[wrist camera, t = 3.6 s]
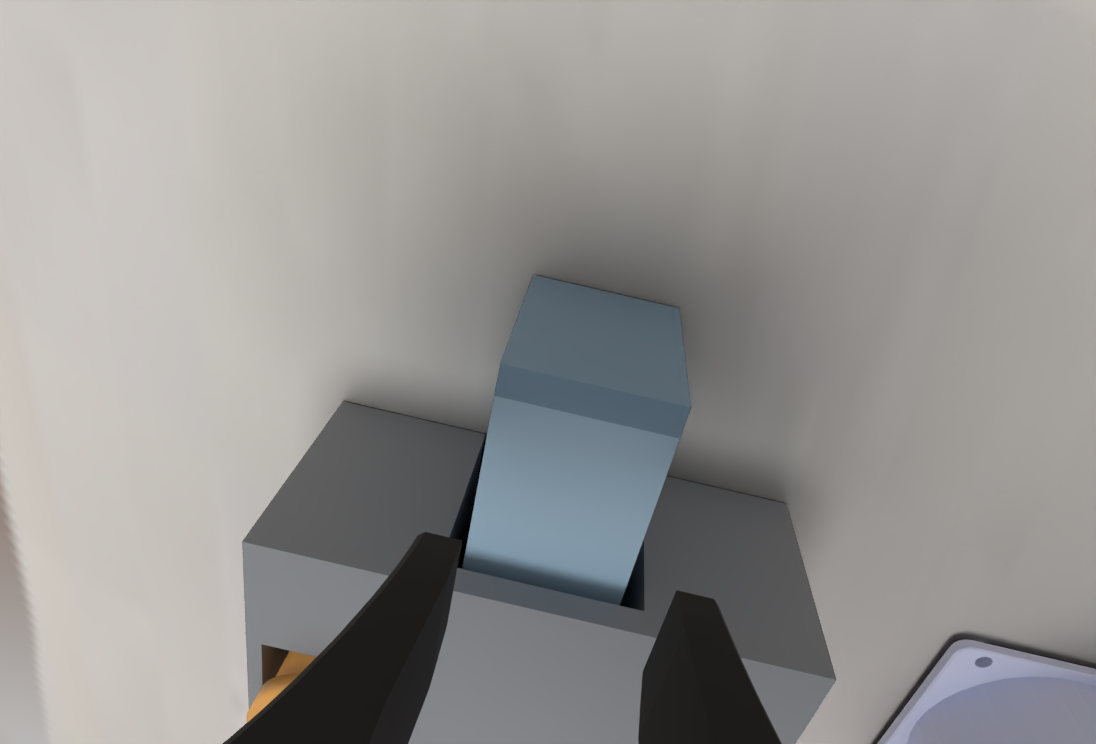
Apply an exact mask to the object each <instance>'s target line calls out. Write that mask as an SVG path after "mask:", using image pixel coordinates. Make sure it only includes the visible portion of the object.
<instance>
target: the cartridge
mask: <svg viewBox="0 0 1096 744" xmlns="http://www.w3.org/2000/svg"><path fill="white" fill-rule="evenodd" d="M690 409H691V402H690V393H689V385H688V377H687V368H686V360H685V352H684V343H683V335H682V327H681V318H680V310H679V308H676V307H671V306H667V305H663V304H658V303H654V302H650V301H645V300H641V299H637V298H632V297H628V296H624V295H619V294H615V293H611V292H606V291H602V290H597V289H593V288H589V287H584V286H580V285H576V284H571V283H567V282H563V281H558V280H554V279H550V278H545V277H541V276H537V275H533V277H532V280H531V282H530V285H529V288H528V290H527V293H526V296H525V299H524V301H523V304H522V307H521V309H520V312H519V315H518V317H517V320H516V323H515V325H514V328H513V331H512V333H511V336H510V339H509V341H508V344H507V347H506V349H505V352H504V355H503V357H502V360H501V363H500V368H499V373H498V378H497V384H496V389H495V395H494V400H493V405H492V411H491V416H490V422H489V427H488V432H487V438H486V443H485V449H484V454H483V460H482V465H481V470H480V476H479V481H478V487H477V492H476V497H475V503H474V508H473V514H472V519H471V524H470V530H469V535H468V541H467V546H466V551H465V557H464V562H463V568H462V569H465V570H469V571H473V572H477V573H482V574H486V575H490V576H495V577H499V578H503V579H508V580H512V581H516V582H520V583H525V584H529V585H533V586H538V587H542V588H546V589H551V590H555V591H559V592H563V593H568V594H572V595H576V596H581V597H585V598H589V599H594V600H598V601H602V602H606V603H611V604H615V605H619V606H620V603H621V601H622V598H623V595H624V592H625V589H626V587H627V584H628V581H629V578H630V576H631V573H632V570H633V567H634V564H635V562H636V559H637V556H638V553H639V551H640V548H641V545H642V542H643V540H644V537H645V534H646V531H647V528H648V526H649V523H650V520H651V517H652V515H653V512H654V509H655V506H656V504H657V501H658V498H659V495H660V492H661V490H662V487H663V484H664V481H665V479H666V476H667V473H668V470H669V467H670V465H671V462H672V459H673V456H674V454H675V451H676V448H677V445H678V443H679V440H680V437H681V434H682V431H683V429H684V426H685V423H686V420H687V418H688V415H689V412H690Z"/></svg>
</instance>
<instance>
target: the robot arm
mask: <svg viewBox="0 0 1096 744" xmlns="http://www.w3.org/2000/svg"><path fill="white" fill-rule="evenodd" d="M461 545H462V540H458V539H454V538H450V537H446V536H441V535H437V534H433V533H428V532H424V533H422V534H419V535H417V537H416V539H415V540H414V542H413V543H412V545H411V546H410V548H409V549H408V551H407V552H406V554H405V555H404V556H403V558H402V559H401V561H400V562H399V563H398V565H397V566H396V567H395V569H394V570H393V571H392V573H391V574H390V575H389V576H388V578H387V579H386V580H385V581H384V583H383V584H382V585H381V586H380V588H379V589H378V590H377V591H376V592H375V594H374V595H373V596H372V597H371V598H370V600H369V601H368V602H367V603H366V604H365V605H364V606H363V607H362V609H361V610H360V611H359V612H358V613H357V614H356V615H355V617H354V618H353V619H352V620H351V621H350V622H349V623H348V624H347V626H346V627H345V628H344V629H343V630H342V631H341V632H340V633H339V634H338V636H337V637H336V638H335V639H334V640H333V641H332V642H331V643H330V644H329V645H328V646H327V647H326V648H325V649H324V650H323V651H322V652H321V653H320V654H319V655H318V656H317V657H316V658H315V659H314V660H313V661H312V662H311V663H310V664H309V665H308V666H307V667H306V668H305V669H304V670H303V671H302V672H301V673H300V674H299V675H298V676H297V677H296V678H295V679H294V680H293V681H292V682H291V683H290V684H289V685H288V686H287V687H286V688H285V689H284V690H283V691H282V692H281V693H280V694H278V695H277V696H276V697H275V698H274V699H273V700H272V701H271V702H270V703H269V704H268V705H267V706H265V707H264V708H263V709H262V710H261V711H260V712H259V713H258V714H257V715H255V716H254V717H253V718H252V719H251V720H250V721H249V722H247V723H246V724H245V725H244V726H243V727H242V728H241V729H240V730H238V731H237V732H236V733H235V734H234V735H233V736H231V737H230V738H229V739H228V740H227V741H225V742H224V743H223V744H408V743H409V740H410V738H411V735H412V732H413V730H414V727H415V725H416V722H417V719H418V717H419V714H420V712H421V709H422V706H423V704H424V701H425V699H426V696H427V693H428V691H429V688H430V684H431V681H432V677H433V674H434V670H435V667H436V663H437V660H438V656H439V653H440V649H441V645H442V642H443V638H444V635H445V631H446V627H447V623H448V617H449V612H450V606H451V600H452V595H453V589H454V584H455V578H456V573H457V567H458V561H459V556H460V550H461ZM638 742H639V744H782V743H781V741H780V739H779V737H778V735H777V733H776V731H775V729H774V727H773V725H772V723H771V721H770V719H769V717H768V715H767V713H766V711H765V709H764V707H763V705H762V703H761V701H760V699H759V697H758V695H757V692H756V690H755V688H754V686H753V684H752V682H751V680H750V677H749V675H748V673H747V671H746V669H745V666H744V664H743V662H742V660H741V657H740V655H739V653H738V651H737V648H736V646H735V644H734V642H733V639H732V637H731V635H730V632H729V630H728V627H727V625H726V623H725V620H724V618H723V616H722V613H721V611H720V608H719V606H718V604H717V603H716V601H715V600H714V599H712V598H708V597H704V596H700V595H695V594H691V593H687V592H682V591H678V590H676V592H675V595H674V597H673V600H672V602H671V605H670V607H669V609H668V612H667V614H666V617H665V619H664V621H663V624H662V626H661V629H660V631H659V633H658V636H657V638H656V641H655V643H654V646H653V648H652V650H651V653H650V655H649V658H648V660H647V662H646V665H645V667H644V670H643V674H642V688H641V701H640V717H639V734H638ZM877 744H1096V669H1094V668H1090V667H1085V666H1081V665H1077V664H1073V663H1068V662H1064V661H1060V660H1055V659H1051V658H1047V657H1042V656H1038V655H1034V654H1029V653H1025V652H1021V651H1017V650H1012V649H1008V648H1004V647H999V646H995V645H991V644H986V643H982V642H978V641H973V640H966V639H964V640H959V641H956V642H954V643H953V644H952V645H951V646H950V647H949V648H948V650H947V651H946V652H945V654H944V655H943V656H942V658H941V659H940V660H939V662H938V663H937V664H936V666H935V667H934V668H933V670H932V671H931V672H930V674H929V675H928V676H927V678H926V679H925V680H924V682H923V683H922V684H921V686H920V687H919V688H918V690H917V691H916V692H915V694H914V695H913V696H912V698H911V699H910V700H909V702H908V703H907V704H906V706H905V707H904V708H903V710H902V711H901V712H900V714H899V715H898V716H897V718H896V719H895V720H894V722H893V723H892V724H891V726H890V727H889V729H888V730H887V731H886V733H885V734H884V735H883V737H882V738H881V739H880V741H879V742H878V743H877Z"/></svg>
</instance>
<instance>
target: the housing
mask: <svg viewBox="0 0 1096 744" xmlns="http://www.w3.org/2000/svg"><path fill="white" fill-rule="evenodd" d="M484 439H485V434H483V433H478V432H474V431H470V430H465V429H461V428H457V427H452V426H448V425H444V424H439V423H435V422H431V421H426V420H422V419H418V418H413V417H409V416H405V415H400V414H396V413H392V412H388V411H383V410H379V409H375V408H370V407H366V406H362V405H357V404H353V403H349V402H344V401H343V402H342V404H341V405H340V406H339V408H338V409H337V411H336V412H335V413H334V415H333V416H332V418H331V419H330V420H329V422H328V423H327V424H326V426H325V427H324V429H323V430H322V431H321V433H320V434H319V436H318V437H317V438H316V440H315V441H314V443H313V444H312V445H311V447H310V448H309V449H308V451H307V452H306V454H305V455H304V456H303V458H302V459H301V461H300V462H299V463H298V465H297V466H296V468H295V469H294V470H293V472H292V473H291V475H290V476H289V477H288V479H287V480H286V481H285V483H284V484H283V486H282V487H281V488H280V490H279V491H278V493H277V494H276V495H275V497H274V498H273V500H272V501H271V502H270V504H269V505H268V507H267V508H266V509H265V511H264V512H263V513H262V515H261V516H260V518H259V519H258V520H257V522H256V523H255V525H254V526H253V527H252V529H251V530H250V532H249V533H248V534H247V536H246V537H245V539H244V540H243V541H242V548H243V573H244V598H245V622H246V647H247V672H248V696H249V709H250V707H251V705H252V703H253V701H254V700H255V698H256V696H257V694H258V692H259V690H260V689H261V687H262V686H263V685H264V684H265V683H266V682H267V681H268V680H270V679H272V678H274V677H276V675H277V673H278V671H279V669H280V667H281V666H282V664H283V662H284V660H285V658H286V656H287V654H288V652H289V651H293V652H297V653H301V654H306V655H310V656H314V657H317V656H318V655H319V654H320V653H321V652H322V651H323V650H324V649H325V648H326V647H327V646H328V645H329V644H330V643H331V642H332V641H333V640H334V639H335V638H336V637H337V636H338V634H339V633H340V632H341V631H342V630H343V629H344V628H345V627H346V626H347V624H348V623H349V622H350V621H351V620H352V619H353V618H354V617H355V615H356V614H357V613H358V612H359V611H360V610H361V609H362V607H363V606H364V605H365V604H366V603H367V602H368V601H369V600H370V598H371V597H372V596H373V595H374V594H375V592H376V591H377V590H378V589H379V588H380V586H381V585H382V584H383V583H384V581H385V580H386V579H387V578H388V576H389V575H390V574H391V573H392V571H393V570H394V569H395V567H396V566H397V565H398V563H399V562H400V561H401V559H402V558H403V556H404V555H405V554H406V552H407V551H408V549H409V548H410V546H411V545H412V543H413V542H414V540H415V539H416V537H417V535H419V534H422V533H424V532H428V533H433V534H437V535H441V536H446V537H450V538H454V539H458V540H462V545H461V550H460V556H459V561H458V567H457V573H456V578H455V584H454V589H453V595H452V600H451V606H450V612H449V617H448V623H447V627H446V631H445V635H444V638H443V642H442V645H441V649H440V653H439V656H438V660H437V663H436V667H435V670H434V674H433V677H432V681H431V684H430V688H429V691H428V693H427V696H426V699H425V701H424V704H423V706H422V709H421V712H420V714H419V717H418V719H417V722H416V725H415V727H414V730H413V732H412V735H411V738H410V740H409V743H408V744H639V742H638V734H639V717H640V701H641V688H642V674H643V670H644V667H645V665H646V662H647V660H648V658H649V655H650V653H651V650H652V648H653V646H654V643H655V641H656V638H657V636H658V633H659V631H660V629H661V626H662V624H663V621H664V619H665V617H666V614H667V612H668V609H669V607H670V605H671V602H672V600H673V597H674V595H675V592H676V590H678V591H682V592H687V593H691V594H695V595H700V596H704V597H708V598H712V599H714V600H715V601H716V603H717V604H718V606H719V608H720V611H721V613H722V616H723V618H724V620H725V623H726V625H727V627H728V630H729V632H730V635H731V637H732V639H733V642H734V644H735V646H736V648H737V651H738V653H739V655H740V657H741V660H742V662H743V664H744V666H745V669H746V671H747V673H748V675H749V677H750V680H751V682H752V684H753V686H754V688H755V690H756V692H757V695H758V697H759V699H760V701H761V703H762V705H763V707H764V709H765V711H766V713H767V715H768V717H769V719H770V721H771V723H772V725H773V727H774V729H775V731H776V733H777V735H778V737H779V739H780V741H781V743H782V744H795V743H796V742H797V740H798V739H799V737H800V736H801V734H802V732H803V731H804V729H805V728H806V726H807V725H808V723H809V722H810V720H811V719H812V717H813V715H814V714H815V712H816V711H817V709H818V708H819V706H820V705H821V703H822V701H823V700H824V698H825V697H826V695H827V694H828V692H829V691H830V689H831V687H832V686H833V684H834V683H835V681H836V677H835V673H834V670H833V666H832V663H831V659H830V656H829V652H828V649H827V645H826V642H825V638H824V634H823V631H822V627H821V624H820V620H819V617H818V613H817V610H816V606H815V603H814V599H813V596H812V592H811V588H810V585H809V581H808V578H807V574H806V571H805V567H804V564H803V560H802V557H801V553H800V549H799V546H798V542H797V539H796V535H795V532H794V528H793V525H792V521H791V518H790V514H789V511H788V507H787V504H785V503H781V502H777V501H772V500H768V499H764V498H759V497H755V496H751V495H746V494H742V493H738V492H733V491H729V490H725V489H720V488H716V487H712V486H707V485H703V484H699V483H694V482H690V481H686V480H681V479H677V478H673V477H669V476H666V479H665V481H664V484H663V487H662V490H661V492H660V495H659V498H658V501H657V504H656V506H655V509H654V512H653V515H652V517H651V520H650V523H649V526H648V528H647V531H646V534H645V537H644V540H643V542H642V545H641V548H640V551H639V553H638V556H637V559H636V562H635V564H634V567H633V570H632V573H631V576H630V578H629V581H628V584H627V587H626V589H625V592H624V595H623V598H622V601H621V603H620V606H619V605H615V604H611V603H606V602H602V601H598V600H594V599H589V598H585V597H581V596H576V595H572V594H568V593H563V592H559V591H555V590H551V589H546V588H542V587H538V586H533V585H529V584H525V583H520V582H516V581H512V580H508V579H503V578H499V577H495V576H490V575H486V574H482V573H477V572H473V571H469V570H465V569H461V564H462V559H463V553H464V548H465V542H466V537H467V532H468V526H469V521H470V515H471V510H472V504H473V499H474V493H475V488H476V482H477V477H478V472H479V466H480V461H481V455H482V450H483V444H484Z"/></svg>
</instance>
